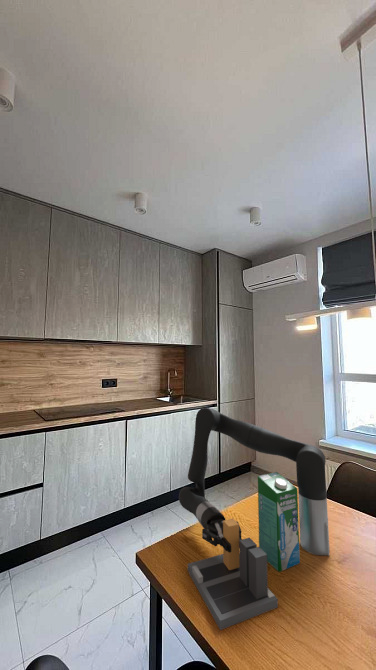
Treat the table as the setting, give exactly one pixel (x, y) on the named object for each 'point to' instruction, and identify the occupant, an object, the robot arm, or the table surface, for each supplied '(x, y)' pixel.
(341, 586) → the table surface
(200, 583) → the grey slotted tray
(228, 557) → the tall tan rectangular block
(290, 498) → the milk carton
